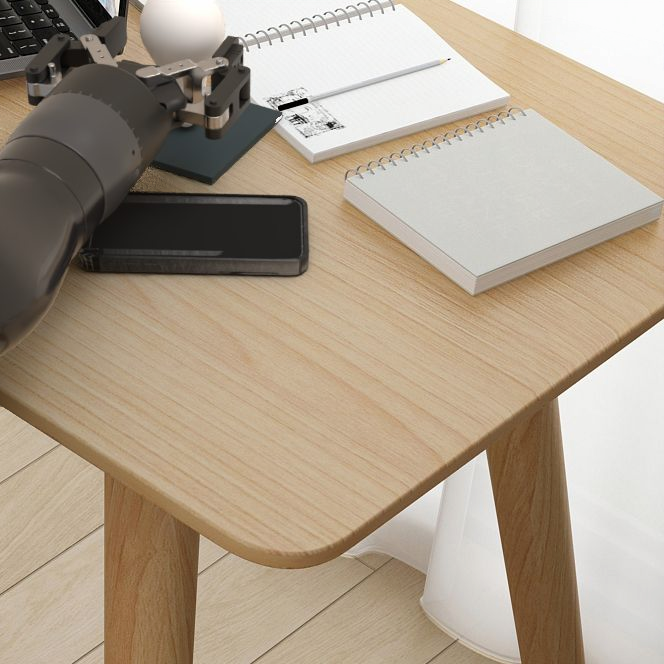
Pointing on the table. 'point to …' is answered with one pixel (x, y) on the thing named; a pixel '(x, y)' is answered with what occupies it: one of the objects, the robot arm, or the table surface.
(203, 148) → the mat
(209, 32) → the lightbulb
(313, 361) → the table surface
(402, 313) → the table surface
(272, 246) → the phone
